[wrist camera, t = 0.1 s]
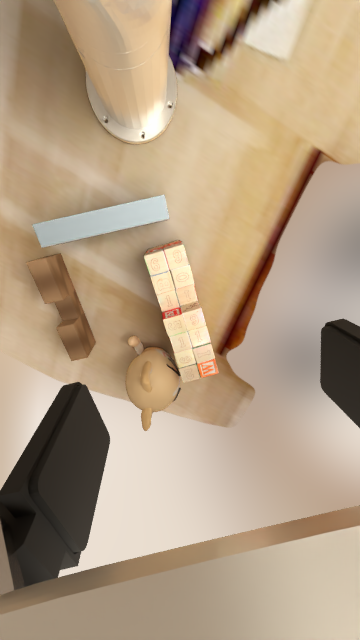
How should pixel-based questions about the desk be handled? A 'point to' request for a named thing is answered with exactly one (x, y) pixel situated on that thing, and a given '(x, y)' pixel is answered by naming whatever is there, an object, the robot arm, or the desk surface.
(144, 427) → the kitten
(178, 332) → the stack of blocks
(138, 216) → the blue board
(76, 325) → the brown wooden block
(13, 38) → the desk surface
